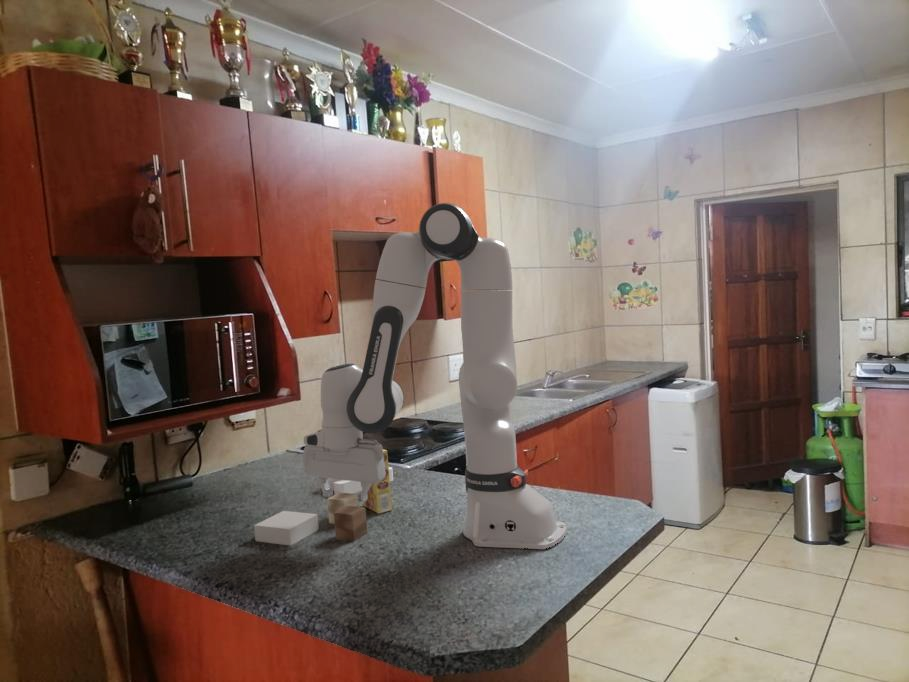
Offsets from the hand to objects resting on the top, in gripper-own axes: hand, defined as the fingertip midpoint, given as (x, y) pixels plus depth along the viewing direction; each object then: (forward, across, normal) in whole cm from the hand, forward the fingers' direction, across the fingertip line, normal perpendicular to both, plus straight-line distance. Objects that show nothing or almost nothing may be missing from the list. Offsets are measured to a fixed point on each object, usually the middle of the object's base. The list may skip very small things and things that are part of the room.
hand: (345, 498), depth 145 cm
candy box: (+9, +4, -18) cm, 21 cm away
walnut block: (+9, -1, 0) cm, 9 cm away
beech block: (+9, +7, -8) cm, 14 cm away
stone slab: (+10, +14, +4) cm, 17 cm away
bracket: (+9, +21, -34) cm, 41 cm away
